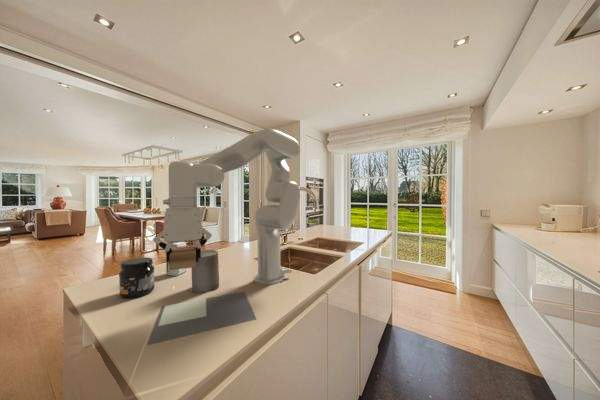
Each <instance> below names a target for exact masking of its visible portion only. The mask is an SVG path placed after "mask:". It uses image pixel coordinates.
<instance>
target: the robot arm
mask: <svg viewBox="0 0 600 400" xmlns="http://www.w3.org/2000/svg"><path fill="white" fill-rule="evenodd" d="M264 153H265V156H266V158H267V159H268V163H269V164H270V167H271V173H270V177H269V180H268V183H267V187H266V190H265V195H264V196H265V199H266V201H267V202H268V203H272V204H265V205H261V206H260V207H258V208H257V209H256V211H255V213H254V220H255V221H254V222H255V225H256V232H257V233H256V234H257V274H256V275H255V276H254V280H253V281H254V282H255V283H256V284H260V285H269V286H270V285H275V284H279V283H282V282H283V281H284V280H285V274H292V268H287V267H281V234H280V231H279V230H288V229H289V228H291V227H292V225H293V223H294V221H295V217H296V214H297V210H298V205H299V203H300V197H301V189H300V187H299V185H298V183H297V182H295V181H292V180H290V178H291V170H290V168H289V167H290V166H288V164H287V162H286V160H294V159H295V158H298V156H299V155H300V153H301V148H300V144H299V142H298V141H297V139H295V138H294V137H292V136H290V135H289V134H286V133H284V132H282V131H279V130H277V129H275V128H270V127H267V128H263V129H260V130H257V131H254V132H252V133H250V134H249V135H247V136H245V137H243V138H242V139H240V140H238V141H237V142H235V143H233V144H231V145H230V146H228V147H226V148H224V149H222V150H221V151H219V152H217V153H215V154H213V155H211V156H209V157H208V158H205V159H204V160H202V161H201V162H199V163H193V162H187V161H172V162H171V163H169V164H168V198H167V199H163V200H162V203H163V205H167V206H168V208H167V207H166V208H165V212H164V217H163V230H161V231H160V232H159V233H158V234H157V235H156V236H154V237H153V239H152V241H153V242H154V243H155V244H156V245H158V246H159V247H160V248H161V249H163V250H164V251H165V254H166V255H165V257H166V258H165V259H166V260H165V262H169V255H170V254H171V252H172V251H173V250H172V248H171V246H172V244H173V242H194V244H195V245H196V249H195V250H196V262H198V258H201V251H202V250H201V248H202V247H203V246H204V245H206V243H207V242H208V241H209V240H210V239H211V237H212V233H211V232H210V231H208V229H206V228H204V227H203V222H202V221H203V220H202V219H203V218H202V211H201V209H200V207H198V189H202V188H205V189H206V188H215V187H218V186H219V185H221V184H223V182H224V180H225V174H226V173H228V172H231V171H235V170H238V169H241V168H243V167H245V166H247V165H248V164H249V163H250V162H252V161H254V160H255V159H256V158H258V157H259V156H260V155H262V154H264ZM277 204H279V205H277ZM203 234H204V238H202V236H203ZM162 238H163V240H162Z"/></svg>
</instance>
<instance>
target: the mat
mask: <svg viewBox="0 0 600 400" xmlns="http://www.w3.org/2000/svg"><path fill="white" fill-rule="evenodd" d="M255 320H257V318H256V315H255V312H254V310H253V308H252V306H251V304H250V302H249V299H248V297H247V295H246V292H245V291H239V292H235V293H229V294H228V293H227V294H224V295H223V294H222V295H217V296H213V297H212V296H211V297H207V298H201V299H195V300H190V301H183V302H179V303H174V304H168V305H167V304H166V305H162V306H161V307H160V310H159V313H158V315H157V317H156V321H155V324H154V326H153V328H152V331H151V334H150V337H149V339H148V341H147V344H146V345H147V346H149V345H150V346H151V345H153V344H157V343H161V342H166V341H171V340H174V339H178V338H179V339H180V338H183V337H187V336H191V335H195V334H200V333H205V332H209V331H214V330H218V329H221V328H225V327H230V326H233V325H238V324H239V325H240V324H242V323H246V322H250V321H255Z"/></svg>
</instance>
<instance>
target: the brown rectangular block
mask: <svg viewBox="0 0 600 400" xmlns="http://www.w3.org/2000/svg"><path fill="white" fill-rule="evenodd" d="M195 249H196V244H195V245H188V246H187V245H186V246H184V247H174V248H173V251H172V252H171V254H170V255H169V270H176V269H184V268H186V269H192V267H196V250H195Z"/></svg>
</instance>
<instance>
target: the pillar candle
mask: <svg viewBox="0 0 600 400" xmlns="http://www.w3.org/2000/svg"><path fill="white" fill-rule="evenodd" d="M219 266H220V265H219V251H218V250H216V249H215V250H213V249H204V250H201V258H198V262H196V267H192V268H191V291H192V293H199V294H202V293H203V294H204V293H209V292H213V291H215V290H217V289H218V288H219V286H220V272H219V271H220V270H219V269H220V268H219Z"/></svg>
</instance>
